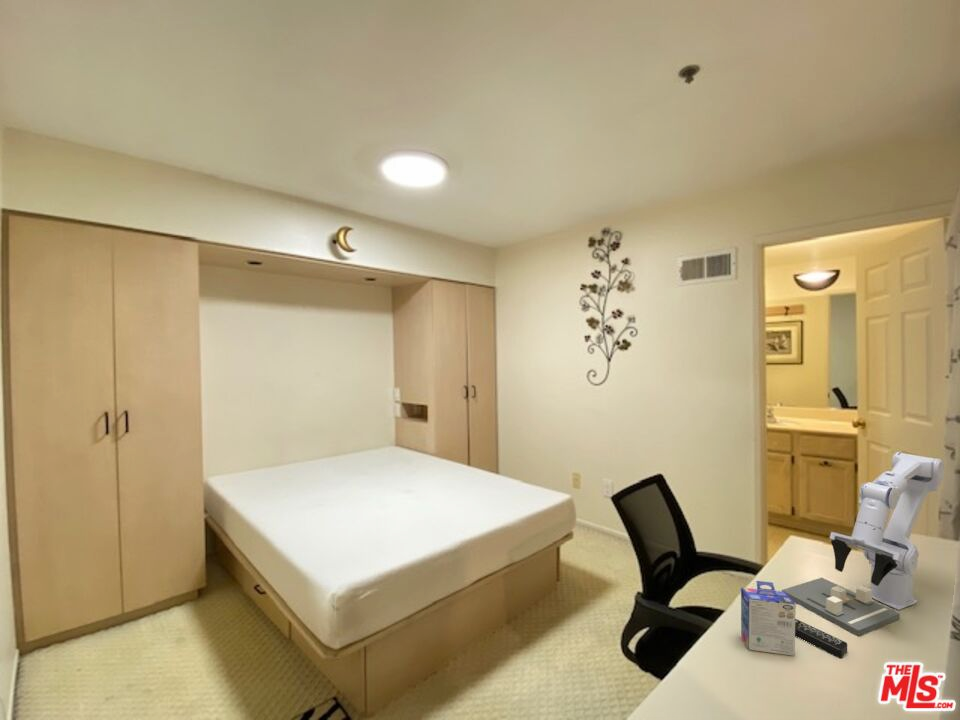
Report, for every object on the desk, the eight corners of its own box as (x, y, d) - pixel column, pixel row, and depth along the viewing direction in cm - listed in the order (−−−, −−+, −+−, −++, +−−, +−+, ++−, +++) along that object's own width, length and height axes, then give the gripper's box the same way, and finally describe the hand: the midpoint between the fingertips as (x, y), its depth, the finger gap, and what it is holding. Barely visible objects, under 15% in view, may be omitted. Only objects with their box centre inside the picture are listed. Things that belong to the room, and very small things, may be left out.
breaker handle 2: (860, 596, 115) (860, 584, 115) (873, 602, 112) (874, 590, 112) (853, 598, 114) (854, 587, 114) (867, 604, 111) (867, 593, 111)
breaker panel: (821, 582, 125) (821, 577, 124) (899, 619, 108) (900, 613, 108) (781, 595, 118) (781, 589, 118) (858, 636, 101) (858, 630, 101)
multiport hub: (840, 660, 94) (841, 650, 94) (784, 632, 103) (785, 623, 103) (847, 652, 96) (848, 642, 96) (792, 625, 106) (792, 617, 106)
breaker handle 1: (831, 606, 110) (831, 594, 110) (844, 613, 107) (844, 601, 107) (823, 609, 109) (824, 597, 109) (837, 616, 106) (837, 604, 106)
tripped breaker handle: (835, 596, 115) (835, 584, 115) (848, 602, 112) (848, 590, 112) (828, 598, 114) (828, 587, 114) (841, 604, 111) (841, 593, 111)
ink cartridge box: (784, 640, 100) (785, 581, 99) (796, 657, 94) (798, 594, 94) (738, 634, 102) (740, 576, 101) (748, 650, 96) (750, 589, 96)
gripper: (829, 512, 115) (815, 559, 113) (898, 531, 102) (883, 585, 99) (843, 522, 117) (829, 568, 115) (912, 541, 104) (898, 595, 101)
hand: (855, 577), depth 107 cm, fingers open, 7 cm apart
